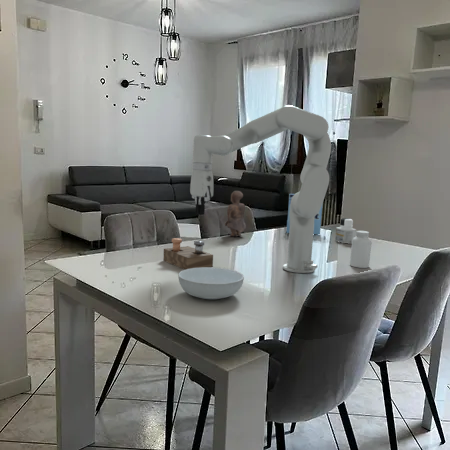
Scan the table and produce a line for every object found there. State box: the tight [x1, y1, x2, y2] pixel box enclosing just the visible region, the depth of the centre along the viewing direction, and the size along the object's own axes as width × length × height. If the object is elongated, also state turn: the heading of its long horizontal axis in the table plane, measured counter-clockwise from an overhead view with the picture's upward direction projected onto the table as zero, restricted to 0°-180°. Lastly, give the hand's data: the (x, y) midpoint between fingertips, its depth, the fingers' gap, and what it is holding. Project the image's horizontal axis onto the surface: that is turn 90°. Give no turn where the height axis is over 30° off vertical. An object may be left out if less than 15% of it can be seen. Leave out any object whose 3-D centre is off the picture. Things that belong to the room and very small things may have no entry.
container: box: [334, 217, 357, 244], centre depth 252 cm, size 8×8×13 cm
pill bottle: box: [349, 230, 373, 269], centre depth 197 cm, size 8×8×15 cm
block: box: [162, 245, 214, 270], centre depth 187 cm, size 18×12×5 cm, turn 37°
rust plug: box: [171, 237, 183, 252], centre depth 187 cm, size 4×4×5 cm
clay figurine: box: [224, 190, 247, 237], centre depth 252 cm, size 13×10×25 cm
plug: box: [193, 240, 205, 255], centre depth 185 cm, size 4×4×5 cm
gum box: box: [286, 193, 324, 235], centre depth 272 cm, size 20×5×23 cm, turn 85°
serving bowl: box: [177, 267, 245, 300], centre depth 147 cm, size 21×21×7 cm
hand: (199, 214), depth 182 cm, fingers closed
